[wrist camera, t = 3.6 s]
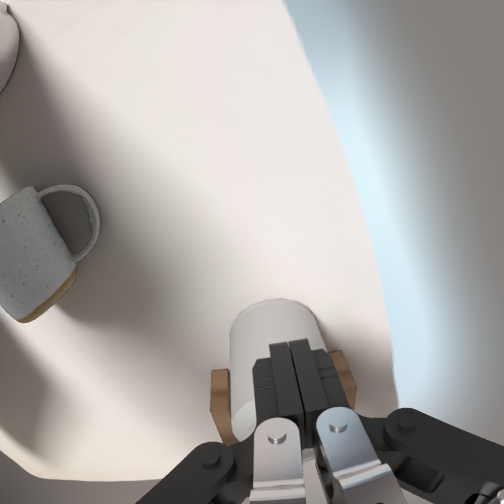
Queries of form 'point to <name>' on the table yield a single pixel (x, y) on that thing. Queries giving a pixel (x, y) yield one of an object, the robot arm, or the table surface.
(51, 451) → the table surface
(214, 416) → the dock
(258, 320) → the can
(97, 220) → the ceramic mug
